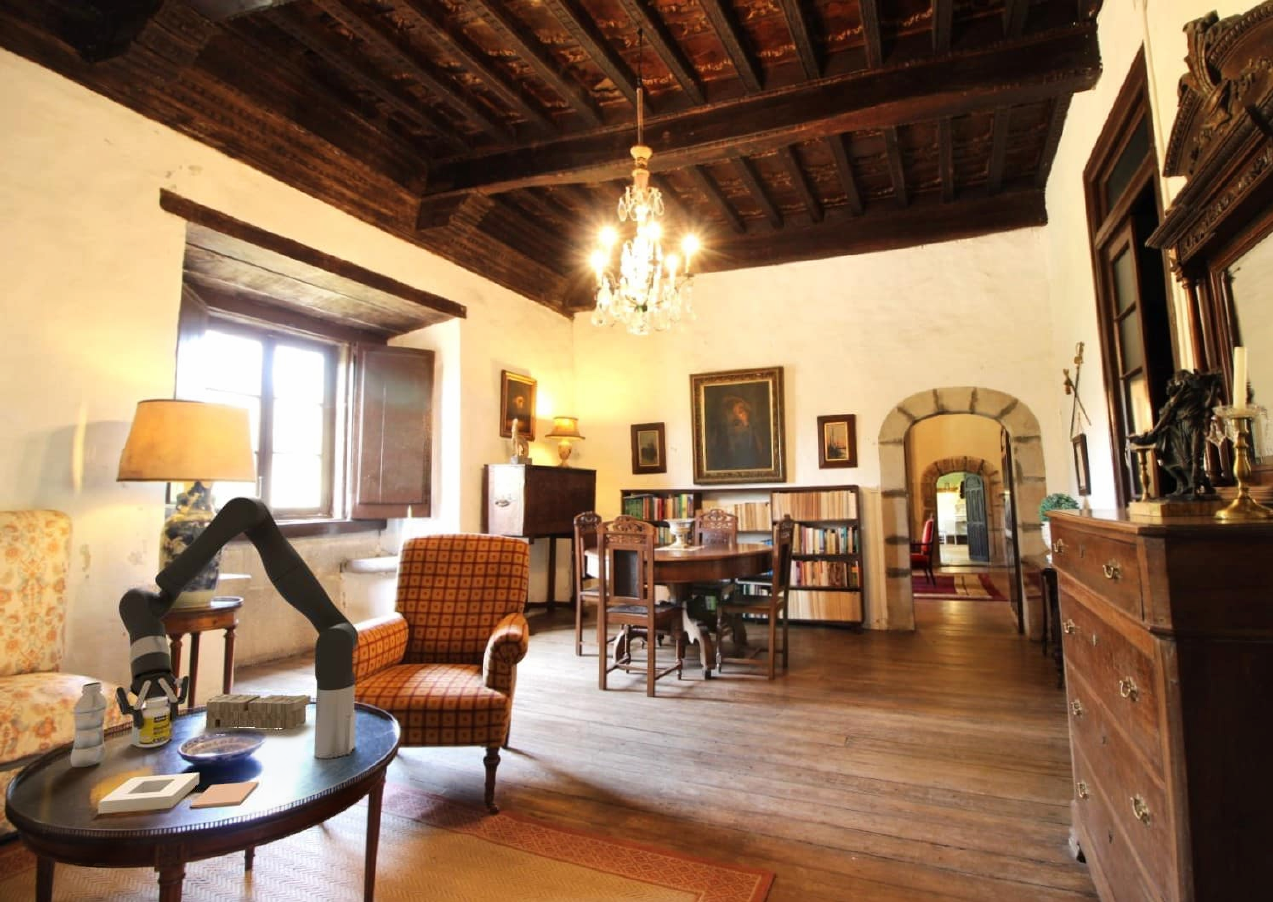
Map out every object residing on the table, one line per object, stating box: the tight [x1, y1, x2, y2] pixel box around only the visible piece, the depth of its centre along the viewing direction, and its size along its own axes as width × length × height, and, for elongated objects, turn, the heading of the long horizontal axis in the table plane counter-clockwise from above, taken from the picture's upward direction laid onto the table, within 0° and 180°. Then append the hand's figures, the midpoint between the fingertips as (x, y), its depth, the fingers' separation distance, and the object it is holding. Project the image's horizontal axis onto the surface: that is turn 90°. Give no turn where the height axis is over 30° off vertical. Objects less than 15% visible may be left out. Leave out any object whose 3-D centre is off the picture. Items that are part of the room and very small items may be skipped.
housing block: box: [97, 772, 200, 815], centre depth 142 cm, size 14×12×2 cm
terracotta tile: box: [189, 781, 259, 808], centre depth 143 cm, size 10×10×1 cm
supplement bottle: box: [139, 697, 171, 748], centre depth 143 cm, size 5×5×10 cm
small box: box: [130, 702, 174, 748], centre depth 176 cm, size 8×6×10 cm
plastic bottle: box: [69, 681, 108, 768], centre depth 160 cm, size 6×7×20 cm
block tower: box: [205, 693, 312, 730], centre depth 189 cm, size 8×8×29 cm
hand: (157, 723), depth 142 cm, fingers closed on supplement bottle, 5 cm apart
